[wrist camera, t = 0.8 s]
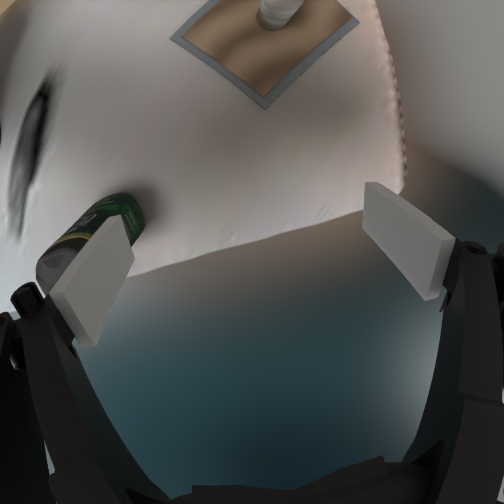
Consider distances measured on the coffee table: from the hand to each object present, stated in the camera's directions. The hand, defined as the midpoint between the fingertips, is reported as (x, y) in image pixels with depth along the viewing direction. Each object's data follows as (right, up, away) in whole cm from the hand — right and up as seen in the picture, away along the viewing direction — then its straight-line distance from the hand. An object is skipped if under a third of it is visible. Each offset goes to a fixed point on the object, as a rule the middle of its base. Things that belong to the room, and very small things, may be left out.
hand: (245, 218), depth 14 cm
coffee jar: (-21, +4, +26) cm, 34 cm away
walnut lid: (+3, +29, +13) cm, 32 cm away
